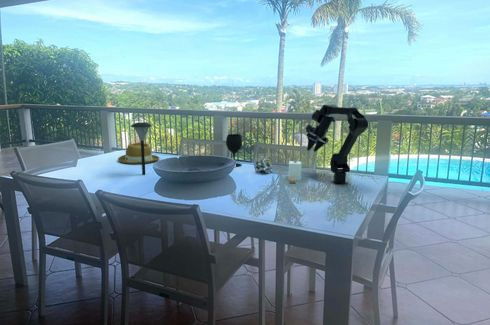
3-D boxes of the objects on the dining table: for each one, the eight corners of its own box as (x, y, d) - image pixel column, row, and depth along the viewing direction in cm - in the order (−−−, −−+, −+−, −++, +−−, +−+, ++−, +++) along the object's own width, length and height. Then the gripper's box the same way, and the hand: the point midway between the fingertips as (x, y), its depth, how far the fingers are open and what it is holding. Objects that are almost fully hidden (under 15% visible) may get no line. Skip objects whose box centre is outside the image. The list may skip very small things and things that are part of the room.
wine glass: (235, 167, 234) (235, 136, 230) (222, 165, 240) (222, 135, 236) (245, 165, 242) (245, 134, 238) (232, 163, 248) (232, 133, 244)
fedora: (148, 155, 272) (147, 139, 270) (166, 162, 251) (165, 144, 248) (111, 159, 256) (110, 143, 253) (128, 167, 234) (127, 148, 231)
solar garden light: (157, 172, 219) (155, 122, 213) (150, 177, 207) (148, 124, 201) (137, 171, 220) (135, 121, 214) (129, 176, 208) (126, 123, 202)
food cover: (300, 177, 209) (300, 160, 206) (300, 180, 202) (301, 162, 200) (288, 177, 209) (288, 159, 207) (288, 180, 203) (289, 162, 201)
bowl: (296, 183, 196) (297, 178, 196) (290, 184, 195) (291, 179, 195) (293, 181, 200) (294, 177, 199) (287, 182, 199) (288, 177, 198)
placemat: (302, 187, 189) (302, 187, 189) (275, 185, 194) (275, 184, 194) (309, 178, 210) (309, 177, 209) (285, 175, 214) (285, 175, 214)
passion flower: (268, 182, 220) (267, 169, 211) (251, 177, 224) (250, 164, 215) (275, 169, 227) (275, 156, 218) (259, 164, 231) (258, 151, 222)
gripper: (318, 122, 219) (306, 145, 222) (305, 118, 203) (292, 143, 207) (334, 130, 213) (321, 154, 217) (321, 126, 197) (308, 152, 201)
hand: (311, 151), depth 210 cm, fingers open, 9 cm apart
